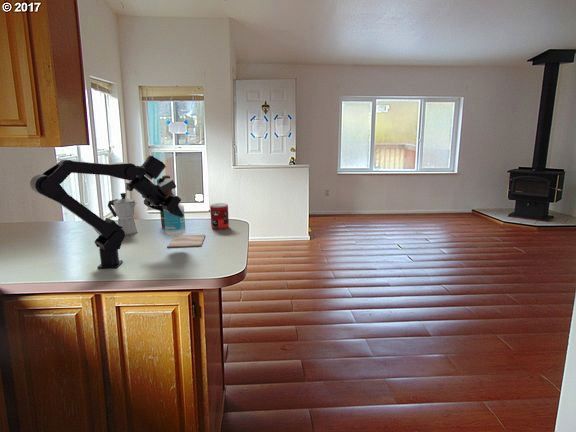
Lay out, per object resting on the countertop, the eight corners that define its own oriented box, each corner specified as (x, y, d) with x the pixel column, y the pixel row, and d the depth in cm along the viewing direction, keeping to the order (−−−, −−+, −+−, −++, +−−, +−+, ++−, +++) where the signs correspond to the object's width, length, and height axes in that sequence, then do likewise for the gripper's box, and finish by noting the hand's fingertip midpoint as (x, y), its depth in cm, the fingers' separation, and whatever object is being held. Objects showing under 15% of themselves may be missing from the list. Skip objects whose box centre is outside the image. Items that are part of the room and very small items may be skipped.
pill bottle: (185, 235, 150) (183, 199, 147) (164, 236, 148) (162, 200, 145) (185, 230, 157) (183, 196, 154) (166, 232, 155) (163, 197, 153)
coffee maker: (145, 231, 182) (141, 191, 178) (133, 236, 174) (129, 195, 170) (117, 229, 186) (113, 191, 182) (104, 234, 178) (99, 194, 174)
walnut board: (201, 246, 157) (201, 245, 157) (167, 247, 156) (167, 246, 156) (205, 235, 173) (205, 234, 172) (174, 236, 171) (174, 235, 171)
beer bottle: (161, 225, 193) (157, 175, 188) (178, 223, 195) (174, 174, 190) (161, 228, 186) (157, 177, 180) (178, 227, 188) (175, 176, 183)
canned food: (209, 227, 188) (208, 204, 185) (226, 225, 191) (225, 202, 188) (213, 230, 181) (212, 206, 178) (231, 228, 184) (229, 205, 182)
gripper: (174, 173, 139) (203, 201, 148) (149, 170, 151) (177, 195, 161) (154, 198, 135) (185, 225, 145) (130, 193, 148) (160, 217, 158)
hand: (177, 214), depth 152 cm, fingers closed on pill bottle, 7 cm apart
